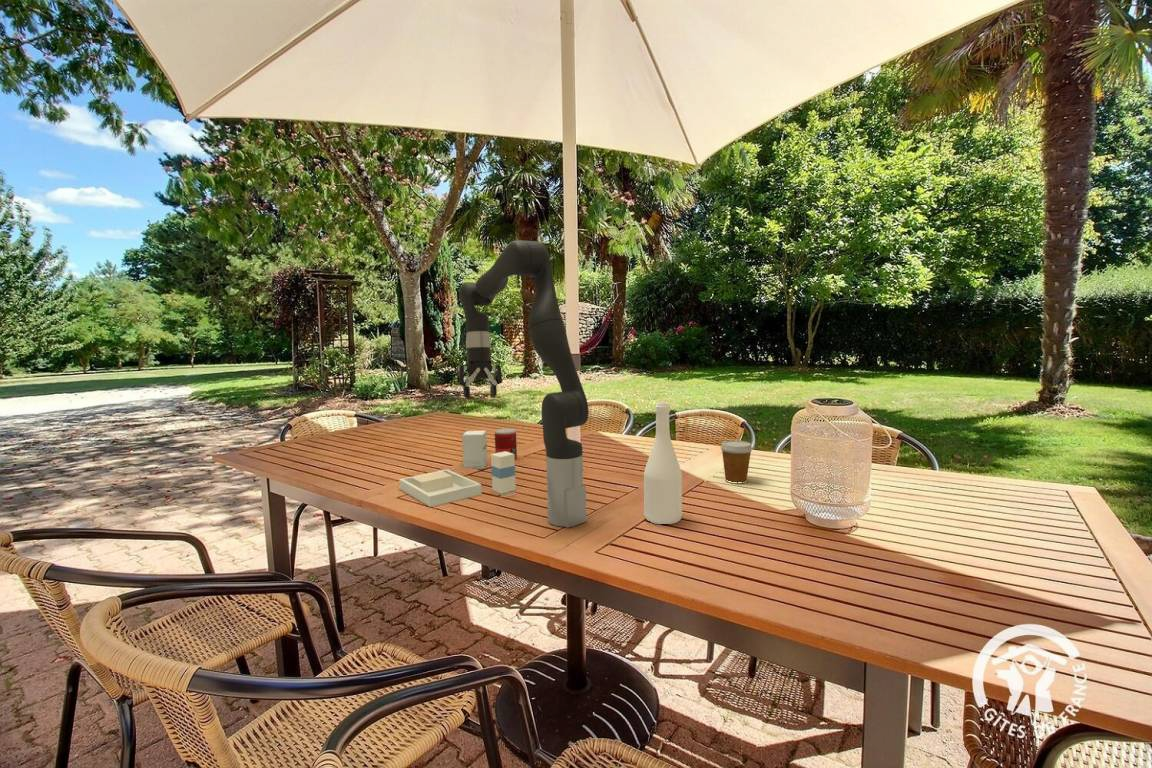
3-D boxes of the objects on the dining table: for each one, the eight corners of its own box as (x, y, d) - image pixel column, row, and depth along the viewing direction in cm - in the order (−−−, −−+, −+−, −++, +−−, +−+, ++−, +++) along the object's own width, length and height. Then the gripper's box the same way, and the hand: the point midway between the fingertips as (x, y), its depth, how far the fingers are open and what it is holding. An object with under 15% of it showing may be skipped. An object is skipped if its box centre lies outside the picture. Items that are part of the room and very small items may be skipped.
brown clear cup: (718, 476, 171) (718, 439, 170) (748, 476, 170) (749, 440, 169) (722, 485, 162) (722, 446, 161) (754, 485, 161) (755, 447, 159)
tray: (481, 497, 155) (481, 484, 155) (430, 510, 145) (429, 496, 145) (448, 481, 172) (447, 469, 172) (399, 491, 162) (399, 479, 162)
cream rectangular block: (452, 486, 163) (452, 475, 163) (421, 493, 157) (421, 482, 156) (442, 481, 168) (442, 471, 168) (412, 488, 162) (411, 477, 162)
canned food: (515, 461, 195) (514, 432, 194) (494, 462, 195) (492, 432, 194) (518, 456, 203) (517, 428, 202) (497, 456, 203) (496, 428, 202)
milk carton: (515, 493, 159) (514, 454, 157) (501, 497, 156) (499, 457, 154) (506, 489, 163) (505, 451, 161) (492, 493, 159) (490, 454, 158)
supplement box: (484, 470, 185) (482, 434, 184) (463, 470, 185) (461, 434, 184) (488, 464, 192) (486, 430, 191) (467, 464, 192) (466, 430, 191)
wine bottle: (659, 509, 142) (658, 399, 139) (689, 518, 136) (689, 402, 132) (636, 519, 136) (635, 403, 132) (667, 529, 129) (667, 407, 126)
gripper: (461, 345, 159) (463, 399, 159) (504, 345, 167) (506, 397, 167) (452, 347, 166) (454, 399, 166) (494, 347, 174) (496, 397, 174)
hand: (480, 398), depth 167 cm, fingers open, 8 cm apart
